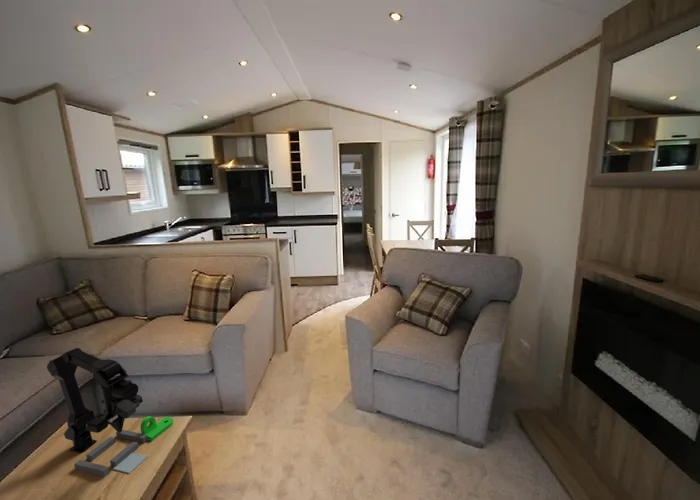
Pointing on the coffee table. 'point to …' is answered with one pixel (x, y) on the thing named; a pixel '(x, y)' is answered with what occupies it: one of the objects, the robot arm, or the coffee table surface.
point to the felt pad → (130, 463)
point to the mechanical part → (155, 426)
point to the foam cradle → (104, 470)
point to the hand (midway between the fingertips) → (119, 432)
